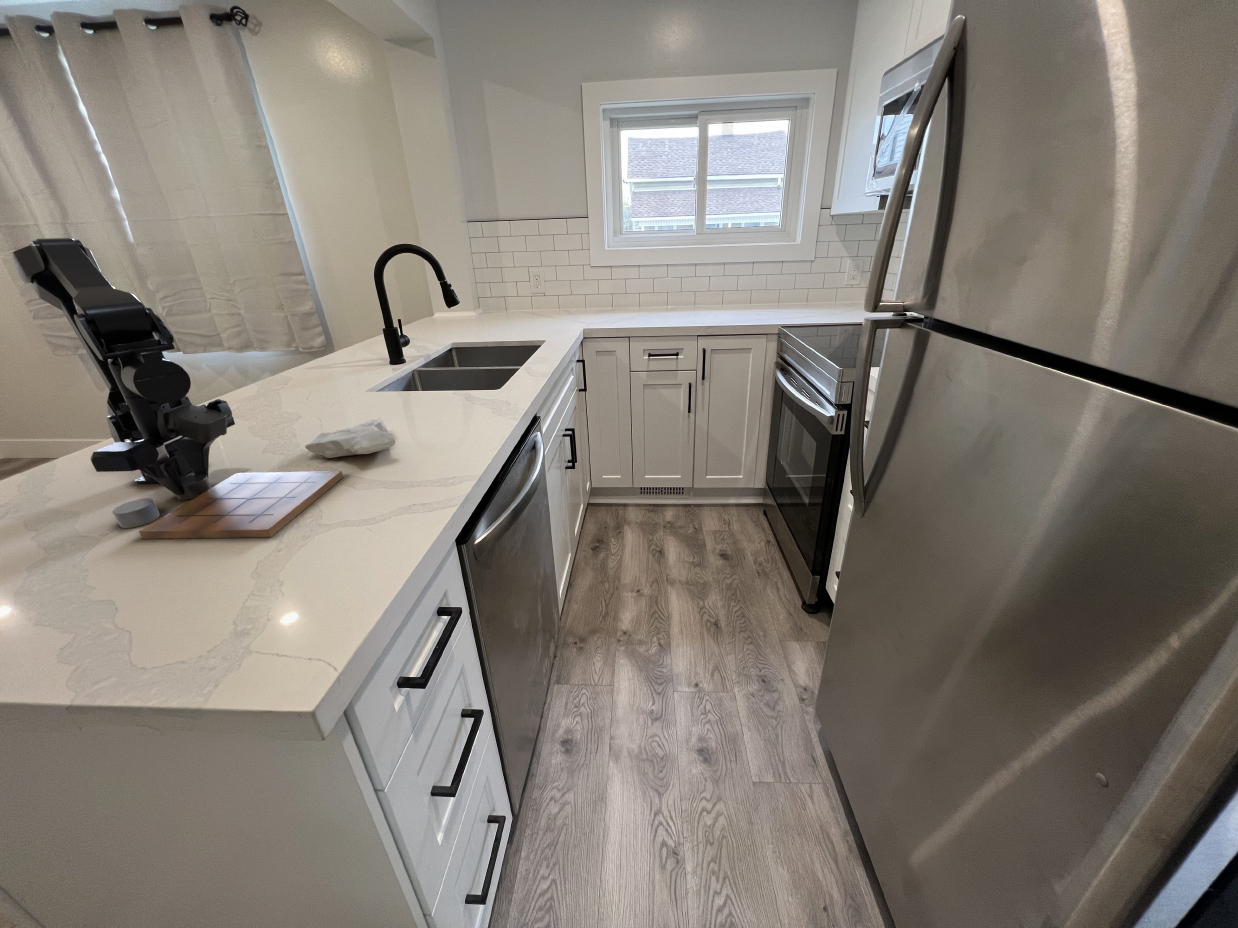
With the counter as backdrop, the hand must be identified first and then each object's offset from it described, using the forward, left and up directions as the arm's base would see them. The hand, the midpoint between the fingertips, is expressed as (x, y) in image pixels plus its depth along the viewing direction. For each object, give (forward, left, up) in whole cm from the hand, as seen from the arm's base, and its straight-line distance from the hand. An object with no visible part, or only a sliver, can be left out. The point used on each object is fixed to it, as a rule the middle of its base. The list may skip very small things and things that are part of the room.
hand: (192, 487), depth 78 cm
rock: (+17, +16, -1) cm, 24 cm away
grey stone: (-2, -8, -1) cm, 8 cm away
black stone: (0, 0, -1) cm, 1 cm away
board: (+12, -4, -1) cm, 13 cm away
